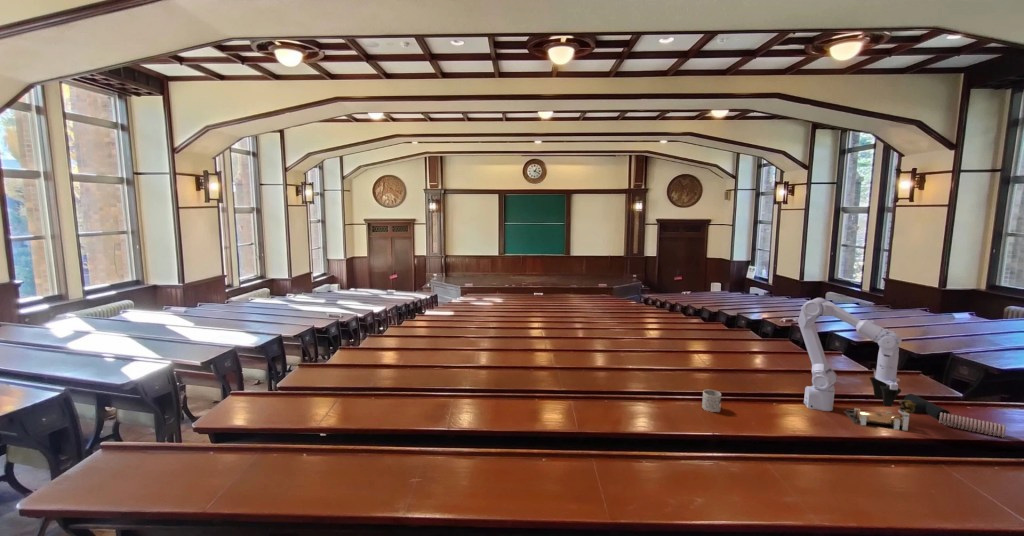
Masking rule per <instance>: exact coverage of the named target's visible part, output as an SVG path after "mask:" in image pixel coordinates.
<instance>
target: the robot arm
mask: <svg viewBox="0 0 1024 536" xmlns="http://www.w3.org/2000/svg"><path fill="white" fill-rule="evenodd" d="M821 315H822V317H834V318H837V319H838V320H840V321H842V322H844V323H846V324H848V325H850V326H852V327H854V328H855V330H856V333H858V334H860V335H861V336H863V337H865V338H867V339H869V340H871V342H874V343H877V345H878V348H879V349H878V354H877V362H876V370H873V376H871V377H869V380H870V382H871V384H872V390H873V396H874V397H875V398H876V399H882V404H883V407H893V404H894V402H895V399H896V398H897V396H898V395H900V393H901V392H902V390H901V388H899V384H898V383H897V382H901V379H900V378H898V377H897V373H898V365H899V355H900V354H899V353H900V347H899V346H901V344H902V341H903V340H902V337H901V335H900V334H898V333H897V332H896V331H892V330H891V331H890V329H888V328H884V327H883V326H880V325H879V324H876V321H875V320H873V319H871V320H869V319H860V318H859V317H857V316H856V315H853V314H851V313H850V312H848V311H847V310H845V309H843V308H841V307H839V306H838V305H836V304H835V303H833V302H832V301H829V300H826V299H825V298H823V297H816V298H813V299H812V300H811V299H810V300H807V301H806V302H805V303H803V305H802V306H801V307H800V313H799V317H798V319H797V323H798V326H799V329H800V332H801V335H802V338H803V341H804V344H805V348H806V351H807V354H808V356H809V360H810V361H811V362H810V363H811V374H812V378H811V383H812V385H811V386H809V385H807V386H805V388H804V399H803V404H804V405H805V406H806V408H807V409H810V410H818V411H821V412H831V411H833V409H834V400H835V392H836V388H835V386H834V385H835V383H836V382H837V381H838V376H837V373H836V372H835V371H834V370H833V369H832V366H831V365H830V364H829V362H828V360H827V357H826V355H825V351H824V348H823V346H822V342H821V339H820V337H819V334H818V331H817V328H816V325H815V323H816V322H817V321H818V319H819V318H820V316H821Z"/></svg>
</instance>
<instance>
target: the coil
mask: <svg viewBox="0 0 1024 536" xmlns="http://www.w3.org/2000/svg"><path fill="white" fill-rule="evenodd" d="M946 417H947V421H946ZM938 423H939V424H942V425H944V426H945V427H949V428H955V429H957V428H958V429H960V430H964V431H968V432H972V433H976V432H977V433H979V434H981V433H982V434H983V433H984V434H983V435H987V434H988V435H987V436H991V434H992V435H993V436H992V437H996V436H998V437H997V438H1000V437H1002V438H1001V439H1003V437H1006V429H1007V428H1006V425H1005V424H1000V423H998V424H997V422H994V423H993V422H991V421H990V422H989V421H986V420H981V419H975V418H974V419H973V418H972V417H971V418H969V417H966V416H961V415H956V414H955V415H954V414H951V413H950V414H946V413H944V416H943V413H942V412H940V419H939V420H938ZM995 435H996V436H995ZM999 436H1000V437H999Z"/></svg>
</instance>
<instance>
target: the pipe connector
mask: <svg viewBox="0 0 1024 536" xmlns="http://www.w3.org/2000/svg"><path fill="white" fill-rule="evenodd" d="M898 404H900V405H899V406H898V410H904V411H905V412H906V413H909V414H910V413H911V414H914V413H915V414H917V413H919V414H920V413H921V414H926V415H927V416H930V417H932V418H934V419H936V420H937V421H939V419H940V412H942V413H943V416H944V413H946V414H950V415H951V413H950V411H949V410H947V409H946V408H943V407H941V406H939V405H937V404H935V403H932V402H930V401H929V400H926V399H924V398H922V397H920V396H918V395H916V394H914V393H907V394H906V395H905V396H904V399H899V401H898ZM946 422H947V417H946Z"/></svg>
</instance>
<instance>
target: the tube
mask: <svg viewBox="0 0 1024 536" xmlns="http://www.w3.org/2000/svg"><path fill="white" fill-rule="evenodd" d="M861 415H866V416H867V419H866V423H873V424H881V425H889V426H893V421H894V419H899V420H900V426H899V427H901V425H902V417H903V415H902V414H901V415H899V414H893V413H892V414H886V413H882V412H874V411H867V410H866V411H865V410H860V411H857V420H858V421H859V422H860V417H861Z"/></svg>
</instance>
